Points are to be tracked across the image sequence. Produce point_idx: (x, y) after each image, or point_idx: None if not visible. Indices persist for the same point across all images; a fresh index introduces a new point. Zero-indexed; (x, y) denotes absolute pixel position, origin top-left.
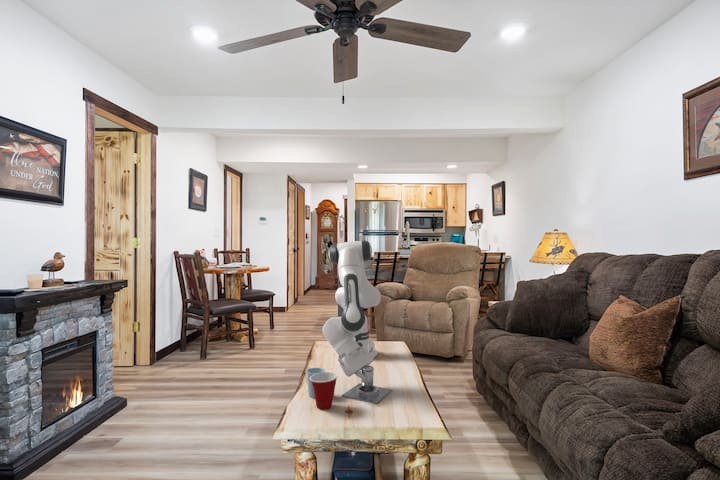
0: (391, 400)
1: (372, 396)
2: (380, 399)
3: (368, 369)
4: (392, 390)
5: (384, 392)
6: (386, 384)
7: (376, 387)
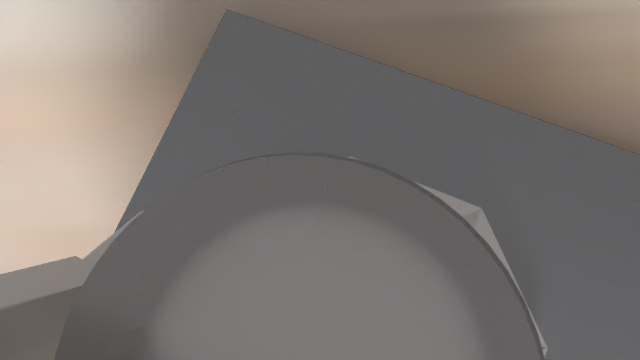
0: (547, 16)
1: (505, 256)
2: (600, 141)
3: (533, 347)
4: (230, 16)
5: (338, 100)
6: (15, 98)
7: None
